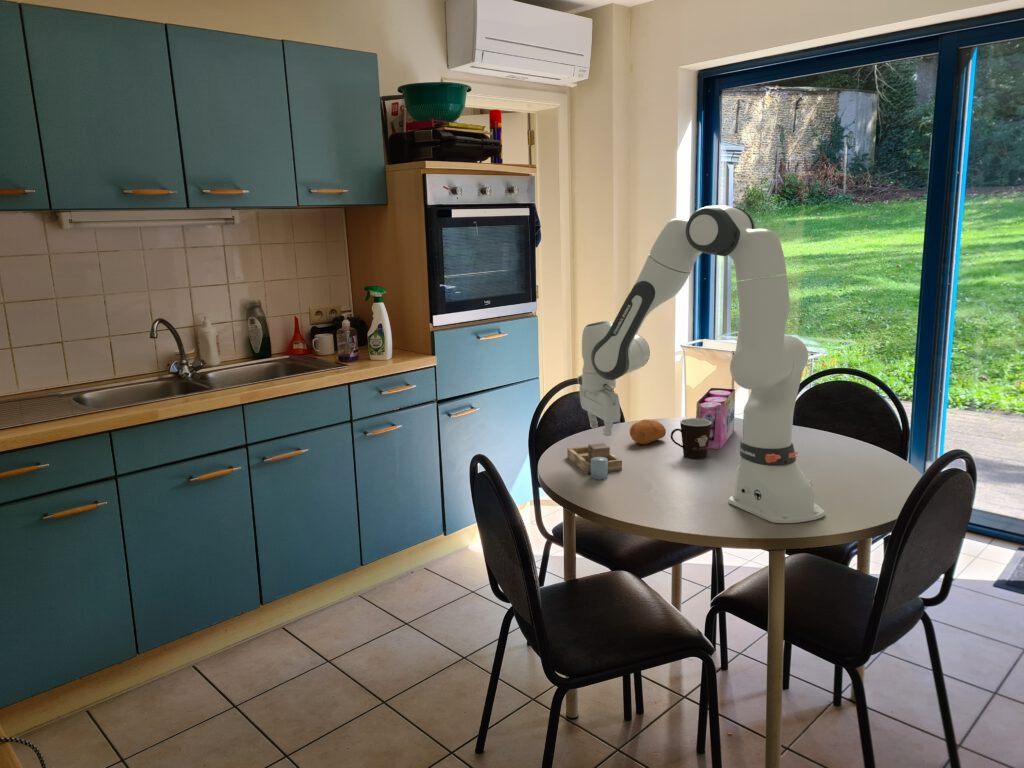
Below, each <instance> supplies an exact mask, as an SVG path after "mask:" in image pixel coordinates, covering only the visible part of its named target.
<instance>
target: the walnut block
mask: <svg viewBox="0 0 1024 768" xmlns="http://www.w3.org/2000/svg"><path fill="white" fill-rule="evenodd" d="M587 446H588V462H589V463H591V458H594V457H605V458H607V459H608V461H610V452H611V451H610V450H611V448H610V446H609V445H607V444H606V443H604V442H600V443H599V442H598V443H590V444H588V445H587Z"/></svg>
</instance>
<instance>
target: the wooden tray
mask: <svg viewBox="0 0 1024 768" xmlns="http://www.w3.org/2000/svg"><path fill="white" fill-rule="evenodd" d="M566 449H567V458H568V459H569V460H570V461H571V462H572V461H573V462H572V463H574V464H575V465H576V466H577V465H578V466H579V469H581V470H582V471H583V472H584V471H585V472H584V473H585V474H586V475H590V474H589V473H591V463H589V462H588V445H586V446H585V445H583V446H578V447H577V446H576V447H568V448H566ZM578 466H577V467H578ZM614 470H618V471H623V460H622V459H621V458H619V457H618V456H617V455H615V454H613V453H612V452H611V451H610V461H608V471H610V472H615V471H614Z"/></svg>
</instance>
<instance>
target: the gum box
mask: <svg viewBox="0 0 1024 768" xmlns="http://www.w3.org/2000/svg"><path fill="white" fill-rule="evenodd" d="M735 401H736V389H735V388H722V387H721V388H720V387H710V388H708V391H706V393H705V394H703V396H701V398H700V399H698V401H697V402H696V412H695V418H698V419H705V420H709V421H711V430H710V437H709V444H708V449H713V450H721V449H722V448H723V447H724V445H725V443H727V441H728V439H729V438H730V437H731V436H732V434H733V432H735V407H736V405H735Z"/></svg>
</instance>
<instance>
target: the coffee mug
mask: <svg viewBox="0 0 1024 768" xmlns="http://www.w3.org/2000/svg"><path fill="white" fill-rule="evenodd" d="M679 422H680V428H675V429H673V430H672V431H671V432H670V440H671V441H672V442H673V443H674V444H675V445H677V446H678V447H680V448H682V453H683V457H684V458H685V459H688V460H704V459H706V458H707V455H708V450H709V448H708V444H709V437H710V430H711V421H709V420H705V419H698V418H696V417H695V418H694V417H693V418H685V419H682V420H680V421H679ZM677 431H678V432H680V433H681V444H680V443H679V442H677V441H676V440H675V439H674V437H673V436H674V434H675V432H677Z"/></svg>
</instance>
